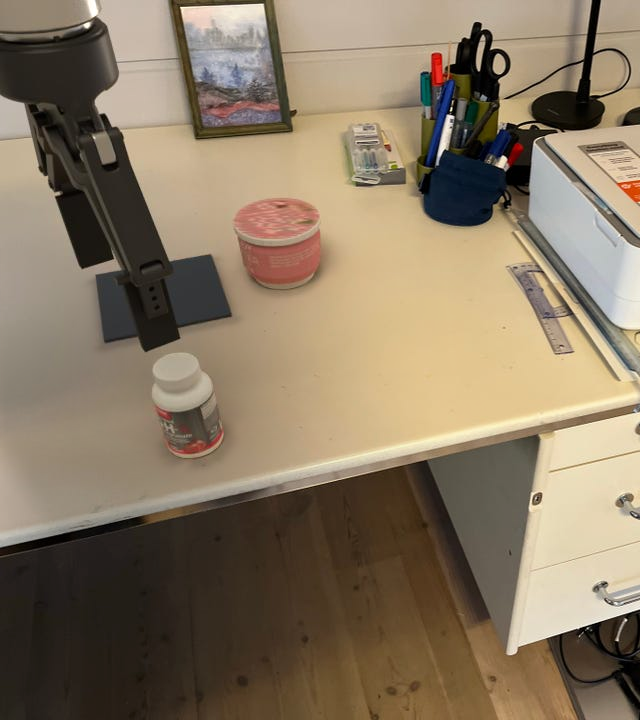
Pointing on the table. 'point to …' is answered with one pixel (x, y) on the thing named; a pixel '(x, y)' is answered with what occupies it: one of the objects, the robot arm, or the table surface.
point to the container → (279, 241)
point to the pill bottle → (186, 406)
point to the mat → (186, 291)
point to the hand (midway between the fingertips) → (127, 300)
